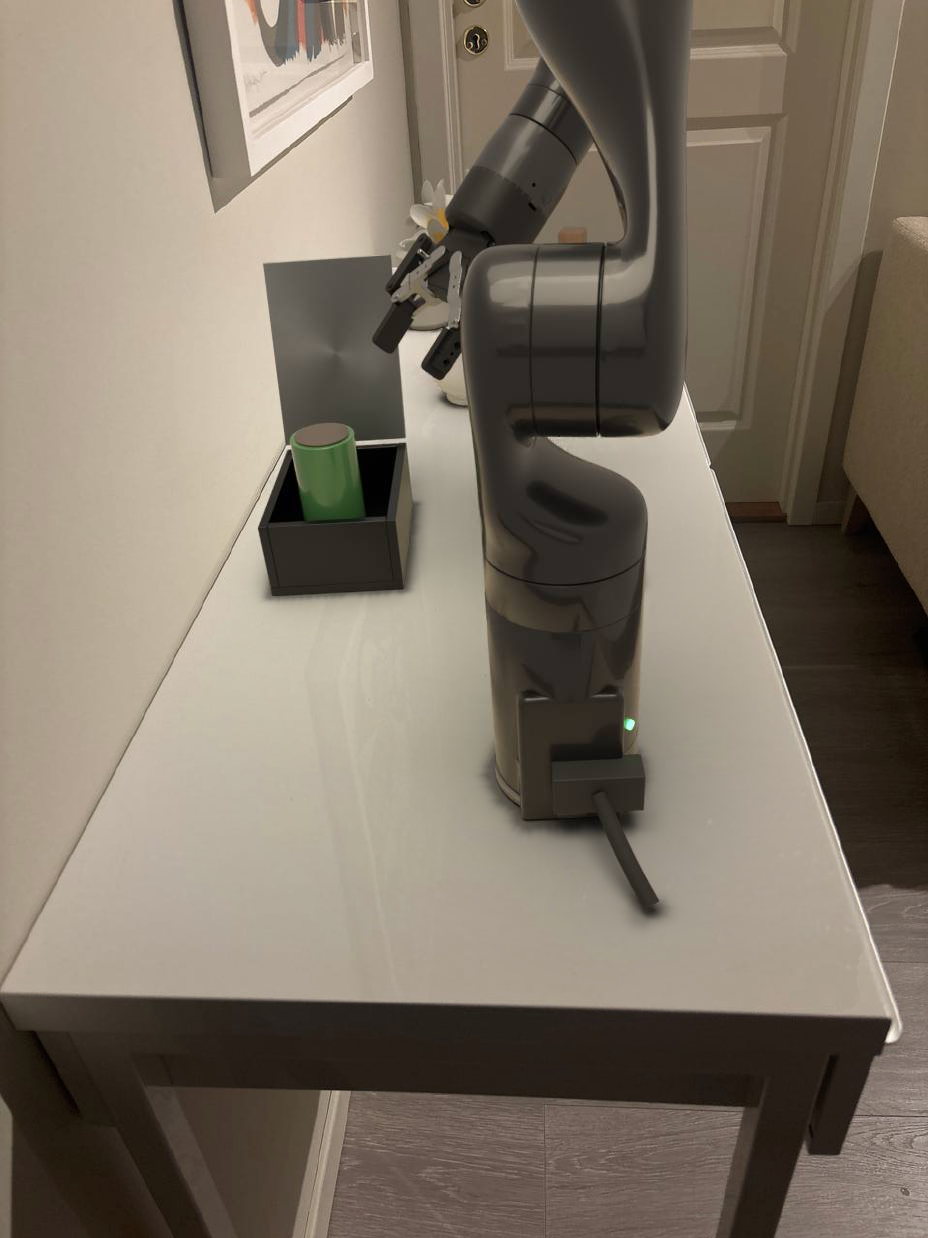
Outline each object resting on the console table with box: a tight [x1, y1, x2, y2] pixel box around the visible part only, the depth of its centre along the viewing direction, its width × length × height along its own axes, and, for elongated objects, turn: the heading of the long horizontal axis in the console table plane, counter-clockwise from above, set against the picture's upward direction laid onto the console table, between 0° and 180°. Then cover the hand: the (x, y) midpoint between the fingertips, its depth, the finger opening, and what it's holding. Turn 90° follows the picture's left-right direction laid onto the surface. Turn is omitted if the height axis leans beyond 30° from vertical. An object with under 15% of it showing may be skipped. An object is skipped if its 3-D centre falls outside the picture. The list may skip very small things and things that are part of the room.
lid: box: [262, 253, 407, 446], centre depth 90 cm, size 16×12×1 cm
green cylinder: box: [289, 423, 366, 521], centre depth 83 cm, size 5×5×12 cm
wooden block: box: [557, 226, 588, 243], centre depth 155 cm, size 4×4×8 cm
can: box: [395, 237, 450, 331], centre depth 141 cm, size 8×8×12 cm
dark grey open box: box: [257, 441, 414, 596], centre depth 88 cm, size 16×12×7 cm
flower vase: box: [405, 168, 470, 407], centre depth 111 cm, size 13×18×25 cm
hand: (404, 360), depth 81 cm, fingers open, 8 cm apart
